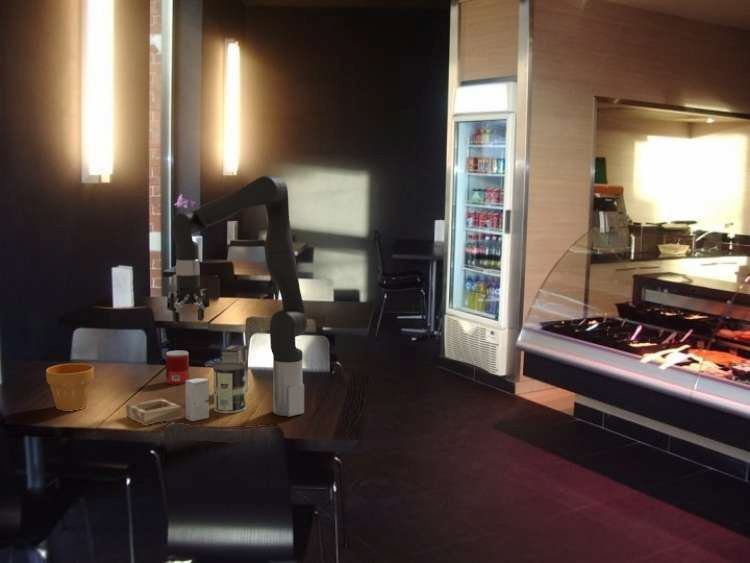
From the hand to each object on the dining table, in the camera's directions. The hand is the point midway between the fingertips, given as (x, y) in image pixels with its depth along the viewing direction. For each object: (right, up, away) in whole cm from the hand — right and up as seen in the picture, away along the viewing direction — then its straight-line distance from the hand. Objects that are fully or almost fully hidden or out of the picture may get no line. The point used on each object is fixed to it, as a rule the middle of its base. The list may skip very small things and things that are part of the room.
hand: (188, 321), depth 267 cm
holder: (-7, -29, -17) cm, 34 cm away
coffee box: (+13, -25, +13) cm, 31 cm away
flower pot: (-36, -27, -9) cm, 46 cm away
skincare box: (+7, -29, -17) cm, 34 cm away
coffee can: (+15, -28, -6) cm, 32 cm away
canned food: (-10, -23, +25) cm, 36 cm away
